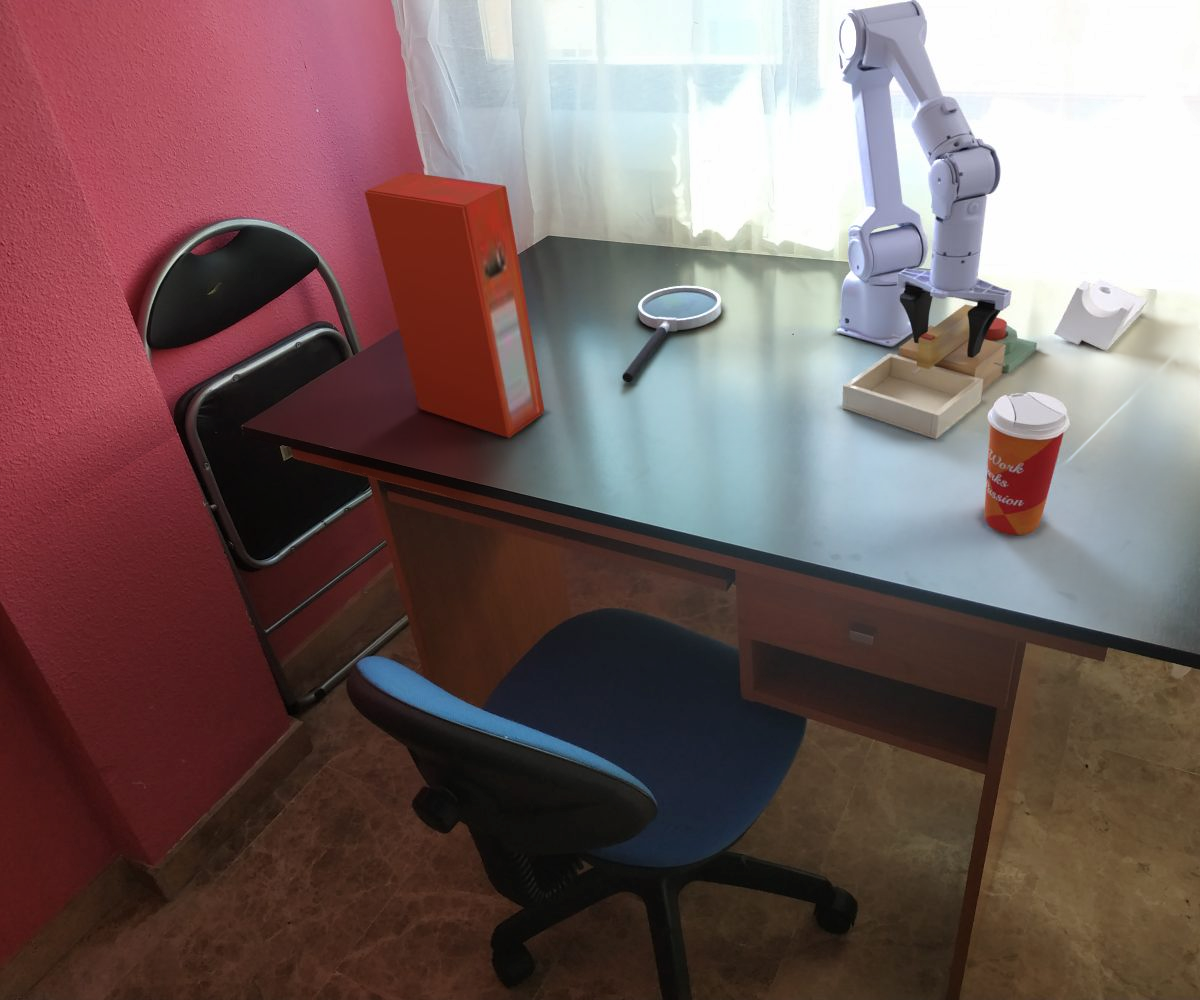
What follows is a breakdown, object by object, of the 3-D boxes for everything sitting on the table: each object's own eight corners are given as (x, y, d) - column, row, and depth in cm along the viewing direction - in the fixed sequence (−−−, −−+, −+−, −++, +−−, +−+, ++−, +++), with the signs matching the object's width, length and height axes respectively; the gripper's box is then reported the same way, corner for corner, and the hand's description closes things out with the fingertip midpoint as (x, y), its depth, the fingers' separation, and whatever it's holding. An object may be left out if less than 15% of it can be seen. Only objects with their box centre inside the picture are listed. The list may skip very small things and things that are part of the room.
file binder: (506, 439, 133) (461, 206, 114) (418, 410, 142) (364, 190, 124) (544, 412, 138) (507, 184, 119) (457, 386, 147) (410, 171, 129)
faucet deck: (857, 388, 134) (858, 357, 131) (920, 343, 142) (923, 313, 140) (968, 423, 124) (972, 390, 121) (1029, 372, 132) (1034, 340, 130)
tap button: (969, 337, 137) (970, 324, 135) (983, 327, 139) (985, 314, 138) (996, 344, 134) (998, 331, 133) (1010, 333, 136) (1012, 320, 135)
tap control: (940, 354, 139) (942, 335, 137) (968, 333, 143) (970, 314, 141) (1008, 373, 133) (1011, 353, 131) (1035, 350, 137) (1039, 330, 135)
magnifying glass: (585, 380, 144) (584, 367, 143) (654, 294, 167) (653, 283, 166) (672, 388, 139) (671, 375, 138) (730, 298, 162) (730, 287, 161)
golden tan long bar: (962, 331, 134) (965, 302, 132) (974, 334, 133) (978, 305, 131) (916, 366, 128) (918, 336, 125) (928, 369, 127) (931, 339, 124)
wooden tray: (842, 408, 130) (842, 385, 128) (887, 375, 136) (889, 352, 134) (936, 439, 121) (938, 415, 119) (980, 402, 127) (983, 379, 125)
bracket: (1102, 356, 135) (1127, 310, 130) (1054, 333, 138) (1077, 287, 133) (1136, 320, 143) (1161, 275, 137) (1089, 299, 146) (1112, 254, 140)
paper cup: (963, 504, 110) (976, 394, 102) (1030, 495, 110) (1049, 384, 102) (992, 546, 104) (1009, 433, 96) (1064, 536, 104) (1087, 422, 96)
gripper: (887, 248, 125) (881, 345, 132) (996, 270, 116) (983, 373, 123) (916, 230, 129) (909, 326, 136) (1024, 250, 120) (1010, 351, 127)
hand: (946, 347), depth 130 cm, fingers open, 7 cm apart
